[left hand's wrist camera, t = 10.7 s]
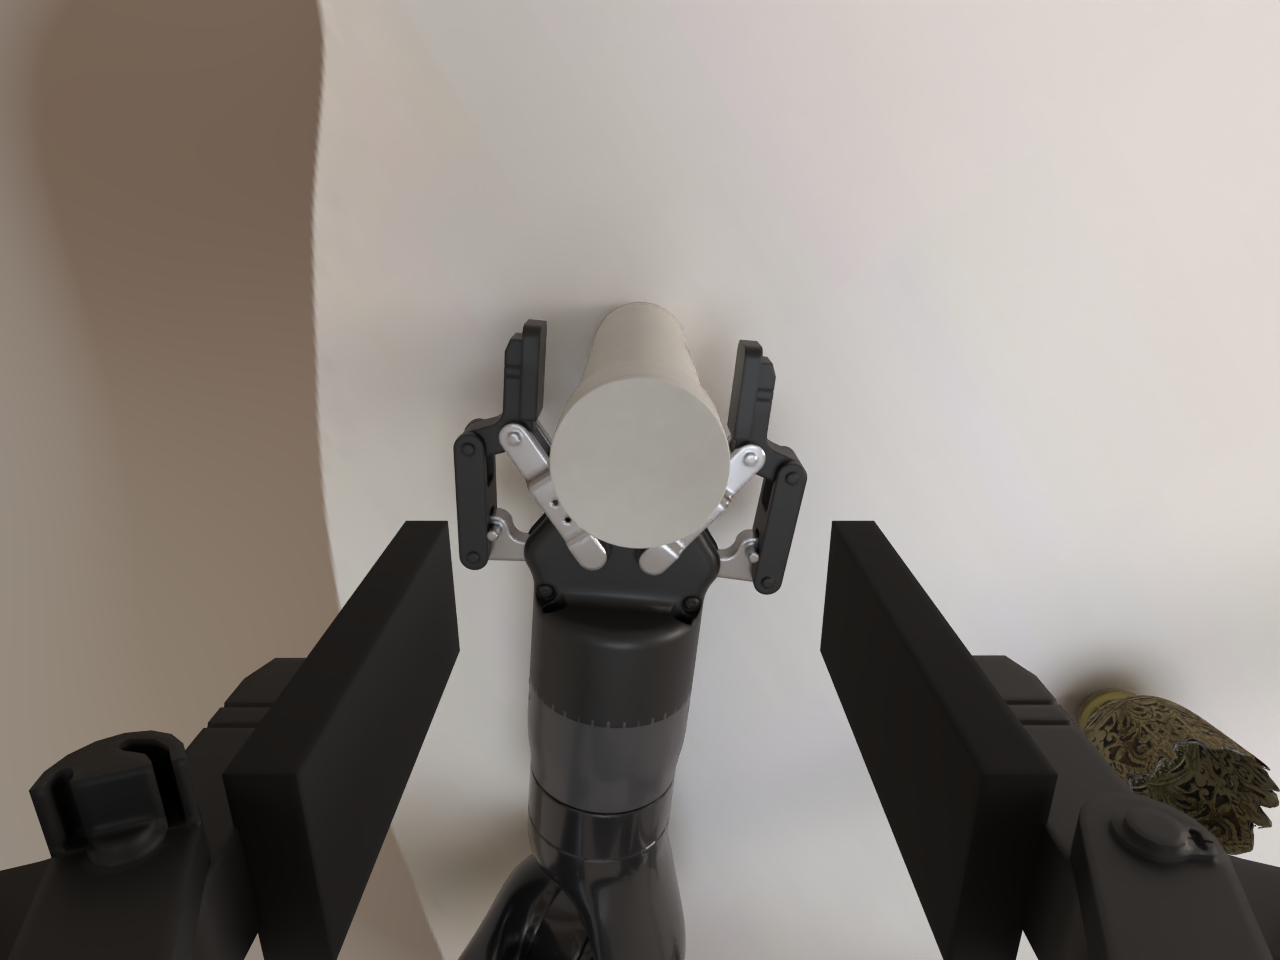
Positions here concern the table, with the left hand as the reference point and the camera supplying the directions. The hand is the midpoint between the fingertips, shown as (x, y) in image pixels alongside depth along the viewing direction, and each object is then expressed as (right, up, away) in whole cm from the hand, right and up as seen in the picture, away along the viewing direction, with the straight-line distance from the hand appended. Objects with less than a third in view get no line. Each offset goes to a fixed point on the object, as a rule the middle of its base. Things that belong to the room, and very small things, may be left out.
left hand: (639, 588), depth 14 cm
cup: (+26, -11, +30) cm, 41 cm away
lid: (0, +3, +7) cm, 7 cm away
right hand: (0, +8, +16) cm, 18 cm away
